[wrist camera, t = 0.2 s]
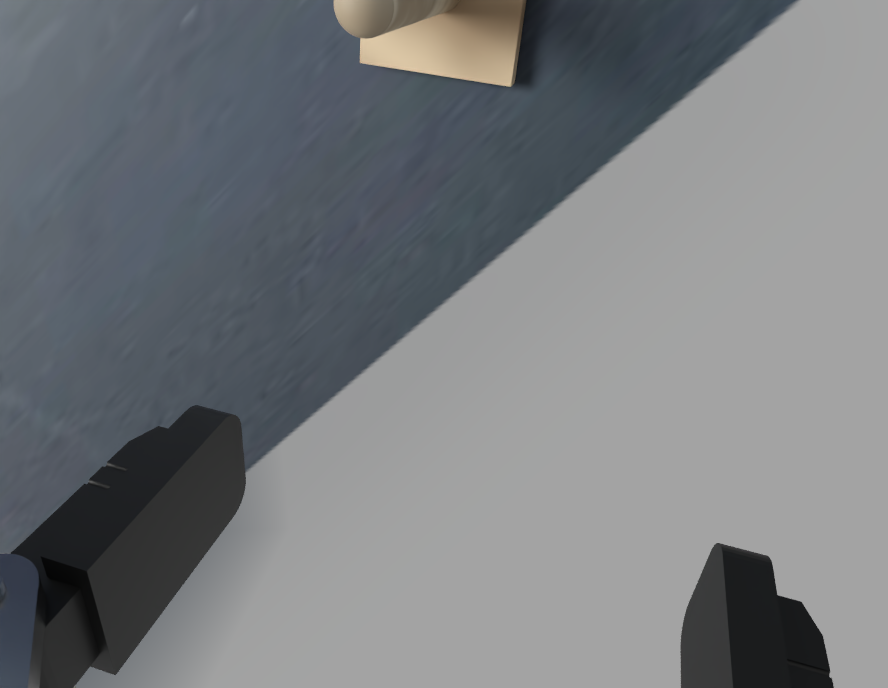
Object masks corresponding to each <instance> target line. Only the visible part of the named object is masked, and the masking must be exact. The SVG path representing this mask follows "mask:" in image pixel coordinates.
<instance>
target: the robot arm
mask: <svg viewBox="0 0 888 688" xmlns="http://www.w3.org/2000/svg"><path fill="white" fill-rule="evenodd" d="M245 484H246V477H245V465H244V453H243V442H242V430H241V422H240V419H239V418H238V417H237V416H236V415H233V414H229V413H225V412H221V411H217V410H213V409H210V408H206V407H202V406H198V405H195V406H192V407H190V408H189V409H188V410H187V411H185V412H184V413H183V414H182V415H181V416H180V417H179V418H178V419H177V420H176V421H175V422H174V423H173V424H172V425H171V426H170V427H169V428H168V429H167V428H164V427H160V426H158V427H156V428H154V429H152V430H150V431H148V432H146V433H144V434H143V435H141V436H139V437H137V438H135V439H133V440H131V441H129V442H128V443H127V444H126V445H125V446H124V447H123V448H122V449H121V450H119V451H118V452H117V453H116V454H115V455H114V456H113V457H112V458H111V459H110V460H109V461H108V462H107V465H106V467H102V468H101V469H99V470H98V471H97V472H96V473H95V474H94V475H93V476H92V477H91V478H90V479H89V482H88V484H84V485H83V486H82V487H80V488H79V489H78V490H77V491H76V492H75V493H74V494H73V495H72V496H71V497H70V498H69V499H68V500H67V501H66V502H65V503H64V504H63V505H62V506H60V507H59V508H58V509H57V510H56V511H55V512H54V513H53V514H52V515H51V516H50V517H49V518H48V519H47V520H46V521H45V522H44V523H43V524H41V525H40V526H39V527H38V528H37V529H36V530H35V531H34V532H33V533H32V534H31V535H30V536H29V537H28V538H27V539H26V540H25V541H24V542H22V543H21V544H20V545H19V546H18V547H17V548H16V549H15V550H14V551H12V552H11V553H10V554H8V553H0V688H76V686H75V685H76V684H77V682H78V681H79V680H80V678H81V677H82V676H83V675H84V673H85V672H86V671H87V669H88V668H89V667H90V666H91V667H94V668H97V669H99V670H102V671H105V672H108V673H111V674H114V675H116V674H117V672H118V671H119V670H120V668H121V667H122V666H123V664H124V663H125V662H126V660H127V659H128V658H129V656H130V655H131V654H132V652H133V651H134V650H135V648H136V647H137V646H138V644H139V643H140V642H141V640H142V639H143V638H144V636H145V635H146V634H147V632H148V631H149V630H150V628H151V627H152V625H153V624H154V623H155V621H156V620H157V619H158V617H159V616H160V615H161V613H162V612H163V611H164V609H165V608H166V607H167V605H168V604H169V602H170V601H171V600H172V599H173V597H174V596H175V595H176V593H177V592H178V590H179V589H180V588H181V586H182V585H183V584H184V582H185V581H186V580H187V578H188V577H189V576H190V574H191V573H192V572H193V570H194V569H195V568H196V566H197V565H198V564H199V562H200V561H201V560H202V558H203V557H204V555H205V554H206V553H207V552H208V550H209V549H210V547H211V546H212V545H213V543H214V542H215V541H216V539H217V538H218V537H219V535H220V534H221V532H222V531H223V530H224V529H225V527H226V526H227V525H228V523H229V522H230V521H231V519H232V518H233V517H234V515H235V514H236V512H237V510H238V508H239V506H240V504H241V501H242V498H243V495H244V491H245ZM829 673H830V668H829V663H828V658H827V654H826V649H825V644H824V639H823V636H822V634H821V632H820V631H819V629H818V628H817V626H816V624H815V623H814V621H813V620H812V618H811V616H810V615H809V613H808V612H807V610H806V609H805V607H804V605H803V604H802V602H800V601H796V600H792V599H789V598H785V597H782V596H778V595H777V591H776V584H775V578H774V571H773V566H772V562H771V560H770V558H769V557H768V556H766V555H762V554H758V553H754V552H750V551H747V550H743V549H739V548H735V547H731V546H727V545H724V544H720V543H717V544H715V545H714V547H713V548H712V550H711V552H710V555H709V557H708V559H707V562H706V564H705V567H704V569H703V571H702V574H701V576H700V578H699V581H698V583H697V585H696V588H695V590H694V592H693V595H692V597H691V599H690V602H689V604H688V607H687V610H686V614H685V617H684V622H683V627H682V635H681V688H834V687H833V682H832V679H831V678H830V677H829Z"/></svg>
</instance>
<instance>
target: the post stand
mask: <svg viewBox="0 0 888 688" xmlns="http://www.w3.org/2000/svg"><path fill="white" fill-rule="evenodd" d="M525 6H526V0H334V10H335V14H336V17H337V19H338V21H339V23H340V24H341V26H342V27H343V28H344V29H345V30H346V31H347V32H349V33H350V34H351V35H353V36H356V37H359V38H361V41H360V63H364V64H370V65H376V66H382V67H389V68H395V69H401V70H408V71H414V72H420V73H427V74H433V75H439V76H445V77H452V78H458V79H464V80H471V81H477V82H483V83H490V84H496V85H502V86H508V87H511V86H512V85H513V84H514V83H515V76H516V69H517V62H518V55H519V48H520V41H521V34H522V27H523V20H524V13H525Z"/></svg>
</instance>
